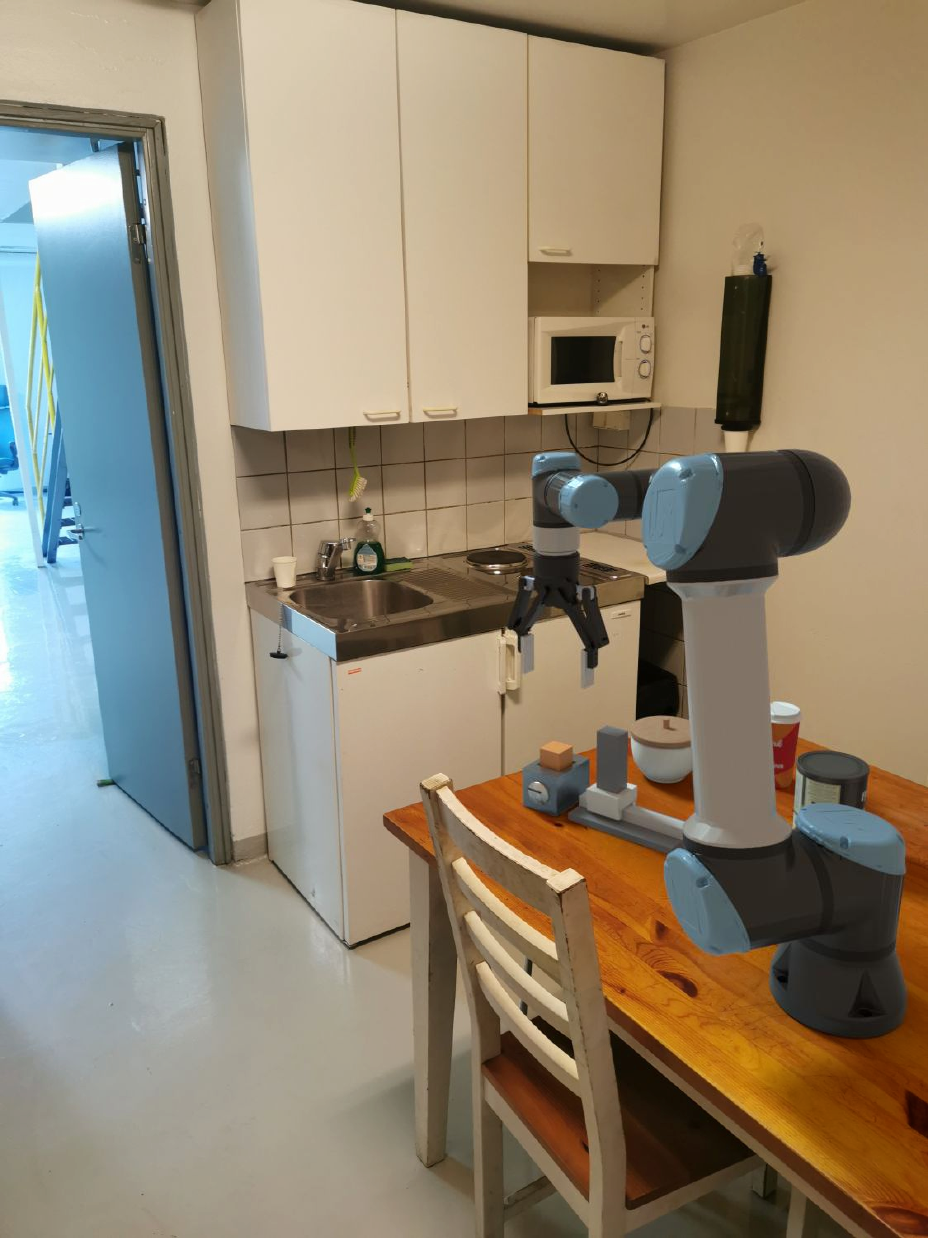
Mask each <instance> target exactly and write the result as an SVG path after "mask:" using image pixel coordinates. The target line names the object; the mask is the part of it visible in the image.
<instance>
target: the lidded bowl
mask: <svg viewBox="0 0 928 1238" xmlns="http://www.w3.org/2000/svg"><path fill="white" fill-rule="evenodd" d="M629 729H630V732H629V733H630V744H631V745H630V747H631V753H632V757H633V761H634V763H635V765H636V767H637V768H638V769H639V771H641V772H642V774H644V776H645V778H647V779H648V780H650V781H652V782H655V783H657V784H675V783H678V782H681V781H682V780H683V781H684V779H685V777H686V776H688V775H689V774H690V773H691V772H693V771H692V755H691V739H690V723H689V719H686V718H682V717H677V716H673V715H671V716H670V715H655V716H654V715H653V716H645V717H642V718H639V719H637V720H636V721H634V722H633V723H632V724H631V726H630V728H629Z"/></svg>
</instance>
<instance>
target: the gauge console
mask: <svg viewBox="0 0 928 1238" xmlns="http://www.w3.org/2000/svg"><path fill="white" fill-rule="evenodd" d="M590 759H591V758H589V757H586V756H584V755H583V756H582V755H579V754H577V753H576V754H575V753H573V765H571V766H569V767H568V768H566V769H564V770H563V771H561V772H558V771H555V770H552V769H548V768H545V767H542V766H540V757H539V758H537V759H536V760H534V761H532V762H530V763H529V764H526V766H525V765H524V766H523V767H522V806H524V807H527V808H530V809H532V810H534V811H535V810H536V811H537V812H538V811H539V812H541V813H544V814H546V815H550V816H552V817H555V818H557V817H559V816H561V815H562V814H564V813H565V812H567V811H568V810H569V809H571V808H572V807H574V806H576V805H577V804H578V803H579V796H580V795H581V794H583V793H584V792H586V789H587V788H589V787H590V770H591V769H590V768H591V767H590V765H591V763H590V761H591V760H590Z"/></svg>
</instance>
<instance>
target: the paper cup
mask: <svg viewBox="0 0 928 1238" xmlns="http://www.w3.org/2000/svg"><path fill="white" fill-rule="evenodd" d="M770 706H771V725H772V743H773V762H774V780H775V790H777V789H785V788H789V787H790V786H792V785H791V784H792V781H793V775H794V768H795V763H796V754H797V747H798V739H799V734H800V733H799V732H800V726H801V721H802V720H803V715H802V713H801V709H800V707H798V706H796V705H795V704H793V703H789V702H785V701H773V702H772V701H770Z"/></svg>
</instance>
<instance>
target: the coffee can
mask: <svg viewBox="0 0 928 1238" xmlns="http://www.w3.org/2000/svg"><path fill="white" fill-rule="evenodd" d="M795 766H796V772H795V773H796V774H795V785H794V786H795V787H794V789H795V790H794V804H793V817H792V829H794V828H795V827H796V824H795V817H796V816H797V814H798V812H799V811H800V809H801V808H802V807H804V806H806V805H809V804H814V803H833V804H840V805H846V806H850V807H854V808H857V809H861V810H864V811H866V803H867V793H868V783H869V780H868V779H869V775H870V771H871V769H870V766H869V764H868V763H867V762H866V761H865V760H863V759H862V758H860V757H857V756H855V755H853V754H851V753H850V754H849V753H845V752H841V751H836V750H828V749H827V750H825V749H823V750H811V751H806V752H803V753H801V754H800V755H798V756H797V757H796V758H795Z"/></svg>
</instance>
